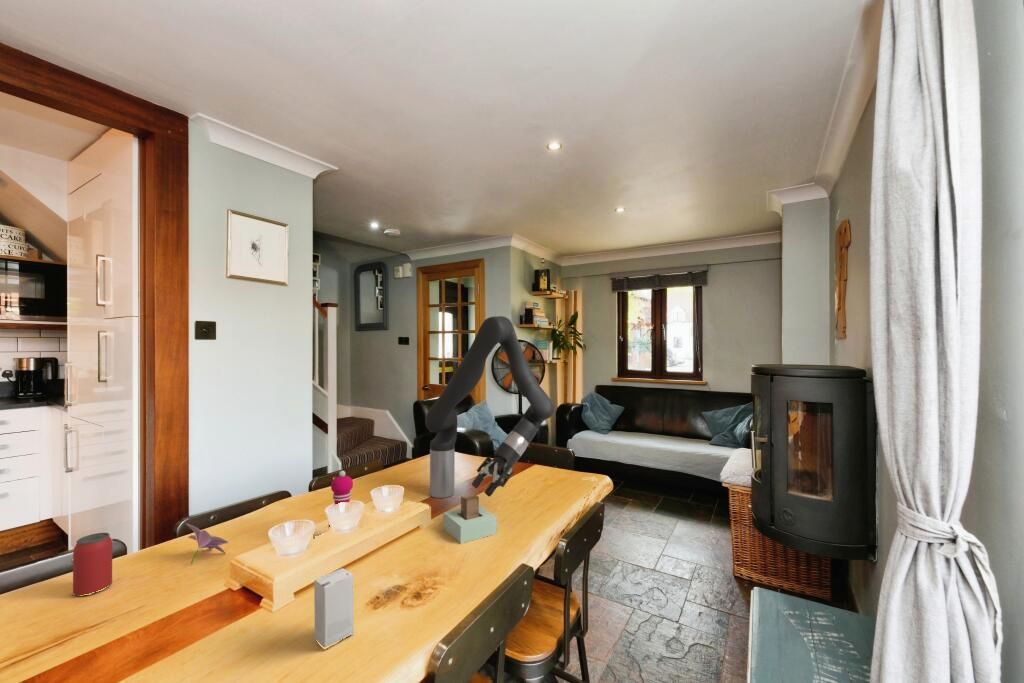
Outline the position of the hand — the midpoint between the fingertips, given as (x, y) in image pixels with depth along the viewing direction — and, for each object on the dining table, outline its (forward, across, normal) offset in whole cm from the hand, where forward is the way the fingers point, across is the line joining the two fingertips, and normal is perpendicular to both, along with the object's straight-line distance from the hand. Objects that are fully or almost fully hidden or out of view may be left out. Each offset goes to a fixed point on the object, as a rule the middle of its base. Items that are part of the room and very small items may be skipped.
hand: (480, 490), depth 133 cm
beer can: (+73, -18, -56) cm, 94 cm away
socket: (+11, 0, +6) cm, 12 cm away
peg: (+10, 0, +5) cm, 12 cm away
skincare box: (+42, +29, -25) cm, 57 cm away
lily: (+58, -23, -41) cm, 75 cm away
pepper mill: (+35, -15, -18) cm, 42 cm away
